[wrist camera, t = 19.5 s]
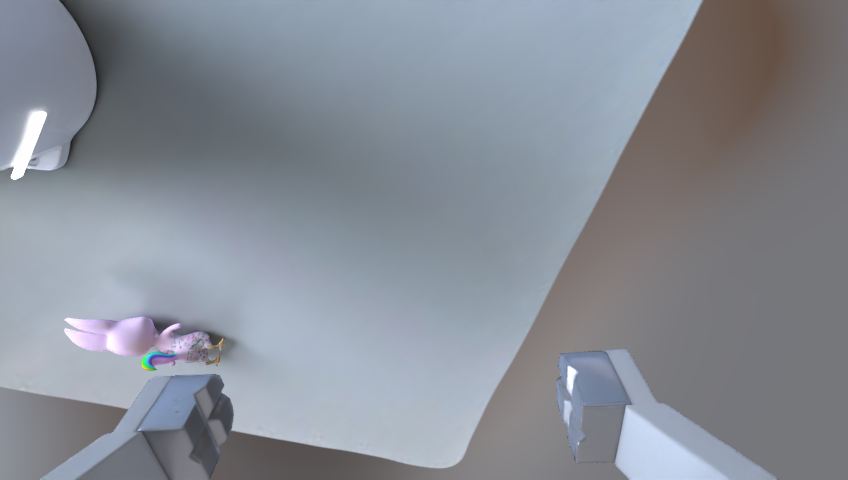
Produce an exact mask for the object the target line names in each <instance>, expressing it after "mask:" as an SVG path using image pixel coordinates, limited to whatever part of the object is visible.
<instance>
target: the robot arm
mask: <svg viewBox="0 0 848 480" xmlns="http://www.w3.org/2000/svg"><path fill="white" fill-rule="evenodd" d="M96 91H97V80H96V72H95V66H94V62H93V59H92V55H91V52H90V50H89V47H88V45H87V42H86V40H85V38H84V36H83V34H82V32H81V30H80V29H79V27H78V25H77V23H76V22H75V20H74V19H73V17H72V16H71V15H70V13H69V12H68V10H67V9H66V8H65V7H64V5H63V4H62V3H61V2H60V1H59V0H0V171H1V170H4V169H7V168H9V167H15V168H14V170H13V173H12V176H11V178H12V179H14V180H15V179H17V178H20V177H22V176H23V174H24V172H25V169H26V168H29V169H39V170H54V169H57V168H60V167H62V166H64V165H65V163H66V161H67V158H68V155H69V149H70V143H71V140H72V138H73V136H74V135H75V134H76V133H77V132H78V131H79V130H80V128H81V127H82V126H83V125H84V124H85V123H86V121H87V120H88V118H89V116H90V114H91V112H92V110H93V107H94V103H95V99H96ZM558 367H559V370H560V373H561V376H560V377H559V378H558V379H557V388H556V392H557V402H558V407H559V412H560V415H561V418H562V421H563V422H564V423H566V424H567V425H568V441H569V444H570V447H571V450H572V453H573V456H574V459H575V462H576V463H615V465H616V466H617V467H618V468H619V469H620V470H621V471H622V472H623V473H624V474H625V475H626V476H627V477H628V478H629V479H630V480H778V478H777V477H775V476H773V475H772V474H771V473H769V472H768V471H766V470H765V469H763V468H762V467H760V466H759V465H757V464H756V463H754V462H753V461H751V460H750V459H748V458H747V457H745V456H744V455H742V454H741V453H739V452H738V451H736V450H735V449H733V448H732V447H730V446H729V445H727V444H726V443H724V442H723V441H721V440H720V439H718V438H717V437H715V436H714V435H712V434H711V433H709V432H708V431H706V430H705V429H703V428H702V427H700V426H699V425H697V424H696V423H694V422H693V421H691V420H690V419H688V418H687V417H685V416H684V415H682V414H681V413H679V412H678V411H676V410H675V409H673V408H672V407H670V406H669V405H667V404H666V403H658V402H657V400H656V398H655V396H654V394H653V393H652V391H651V389H650V387H649V385H648V384H647V382H646V380H645V378H644V377H643V375H642V373H641V371H640V370H639V368H638V366H637V364H636V362H635V361H634V359H633V357H632V355H631V354H630V352H629V351H628V350H626V349H616V350H604V351H588V352H574V353H561V354H560V356H559V362H558ZM223 387H224V383H223V381H222V379H221V377H220V375H216V374H204V375H175V376H157V377H154V378H152V379H151V380H149V381H148V382H147V384H146V385H145V387H144V388H143V390H142V391H141V392H140V394H139V395H138V397H137V398H136V400H135V401H134V403H133V404H132V405H131V407H130V408H129V410H128V411H127V413H126V414H125V416H124V417H123V418H122V420H121V421H120V423H119V424H118V426H117V427H116V428H115V430H114V431H113V433H109V434H105V435H103V436H102V437H100V438H99V439H97V440H96V441H95V442H93V443H92V444H90V445H89V446H87V447H86V448H84V449H83V450H81V451H80V452H78V453H77V454H76V455H74V456H73V457H71V458H70V459H68V460H67V461H66V462H64V463H63V464H61V465H60V466H58V467H57V468H55V469H54V470H53V471H51V472H49V473H48V474H47V475H45V476H44V477H42V478H41V479H39V480H210V478H211V475H212V473H213V471H214V468H215V466H216V464H217V462H218V459H219V457H220V453H219V450H218V448H217V447H218V446H219V445H221V444H222V443H223V442H224V441H225V440H226V439H227V438H228V436H229V433H230V431H231V429H232V423H233V416H234V414H233V406H232V403H231V401H230V398H228V397H227V396H226V395H224V394H223V393H221V391H222V389H223Z"/></svg>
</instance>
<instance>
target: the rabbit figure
mask: <svg viewBox="0 0 848 480" xmlns="http://www.w3.org/2000/svg"><path fill="white" fill-rule="evenodd" d="M65 321H66V322H68V323H69V324H71V325H73V326H74V327H76V328H78V329H80V330H82V331H86V332H81V331H76V330H71V329H65V333H66V334H67V335H68V337H69V338H70V339H71V340H72V341H73V342H74V343H75V344H77V345H78V346H80V347H82V348H85V349H88V350H92V351H108V350H110V351H112V352H114V353H116V354H118V355H122V356H130V357H134V356H140V355H143V354H145V353H146V352H147V351H148V350H149V349H150V348H151V347H152V346H157V347H158V348H159V350H160V352H152V353H150V354H148V355H146V356H145V357H144V358H143V360H142V363H141V366H142V367H143V368H144V369H145V370H148V371H154V370H157V369H155V367H154V366H155V365H162V364H166V363H168V364H169V365H170V366H174V365H175V361H174V360H180V361H182V362H185V363H192V362H202V363H204V364H205V365H209V364H212V363H216V366H218V365H217V363H219V360H220V355H221V353H219V355H218V356H217V358H216V359H215V360H213V361H210V360H209V359H208V349H207V348H209V349H212V348H217V347H219V348H220V350H221V348H222V347H223V344H224V340H223V339H224V338H222V340H221V342H220V343H219V344H218V345H215V346H214V345H212V344H211V342H210V336H209V335H208V334H207V333H205V332H194V333H191V334H187V335H183V336H180V335H178V334H176V333H171V332H172V331H173V330H175V329H179V328H181V326H182V324H181V323H177V324H174V325H172V326H170V327H168V328H167V329H166V330H164V331H163V332H162V334H161V335H157V334H156V333H157V330H156V329H155V328H154V323H153V321H152V320H151V319H150V318H148V317H138V318H130V319H126V320H122V321H112V320H85V319H73V318H66V319H65ZM87 332H90V333H87ZM169 350H171V351H172V352H174V354H171V355H170V354H168V351H169ZM221 351H222V350H221Z"/></svg>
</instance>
